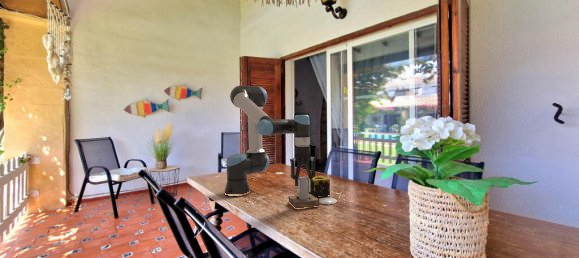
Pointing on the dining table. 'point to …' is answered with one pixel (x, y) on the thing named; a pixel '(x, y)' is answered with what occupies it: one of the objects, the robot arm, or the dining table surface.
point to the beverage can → (303, 188)
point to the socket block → (303, 201)
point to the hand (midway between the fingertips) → (303, 191)
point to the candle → (320, 186)
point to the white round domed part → (327, 200)
